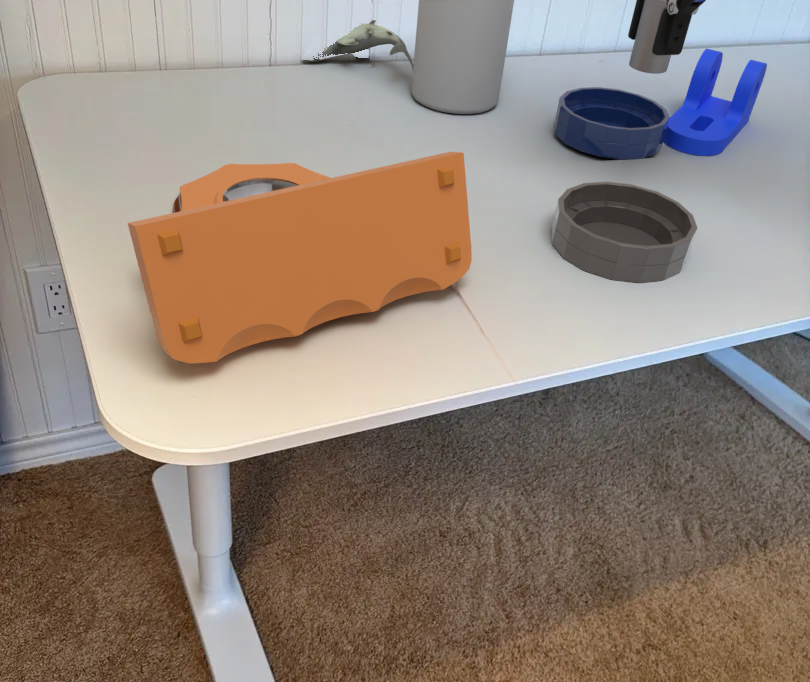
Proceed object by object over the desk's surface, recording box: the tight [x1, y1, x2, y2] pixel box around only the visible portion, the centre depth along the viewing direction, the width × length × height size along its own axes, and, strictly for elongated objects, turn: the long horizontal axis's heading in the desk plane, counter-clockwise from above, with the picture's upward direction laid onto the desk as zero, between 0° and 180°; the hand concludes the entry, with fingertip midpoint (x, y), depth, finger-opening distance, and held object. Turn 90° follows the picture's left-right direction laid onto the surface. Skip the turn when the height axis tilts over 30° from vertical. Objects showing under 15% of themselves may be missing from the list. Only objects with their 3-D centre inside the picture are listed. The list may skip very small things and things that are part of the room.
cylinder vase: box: [411, 0, 515, 115], centre depth 110 cm, size 12×12×25 cm
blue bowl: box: [553, 86, 671, 160], centre depth 110 cm, size 14×14×4 cm
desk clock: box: [127, 151, 473, 365], centre depth 76 cm, size 12×30×20 cm
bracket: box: [663, 48, 768, 157], centre depth 113 cm, size 18×8×9 cm, turn 148°
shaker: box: [628, 0, 672, 75], centre depth 85 cm, size 4×4×8 cm
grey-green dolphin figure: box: [313, 19, 414, 70], centre depth 124 cm, size 14×17×8 cm
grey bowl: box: [550, 181, 698, 284], centre depth 87 cm, size 14×14×4 cm
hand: (654, 44), depth 86 cm, fingers closed on shaker, 4 cm apart
